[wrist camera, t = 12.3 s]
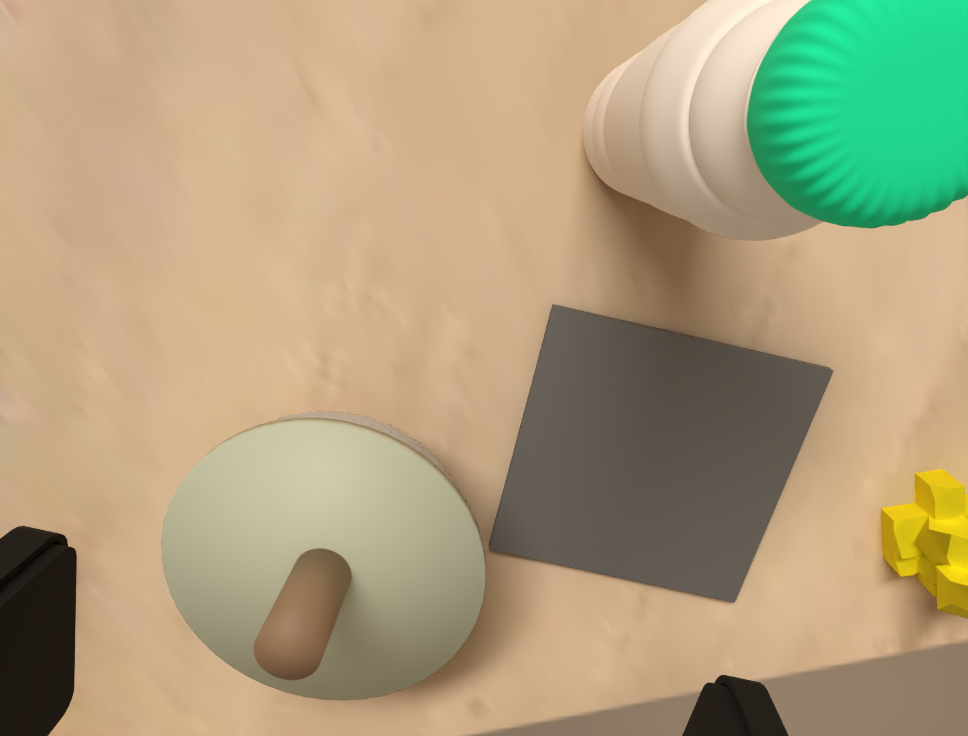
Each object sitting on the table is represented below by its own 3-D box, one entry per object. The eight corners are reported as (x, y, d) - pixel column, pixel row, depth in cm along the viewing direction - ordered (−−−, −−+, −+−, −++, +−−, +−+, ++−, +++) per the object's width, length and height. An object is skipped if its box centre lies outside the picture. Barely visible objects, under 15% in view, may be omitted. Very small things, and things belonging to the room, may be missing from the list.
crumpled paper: (976, 462, 41) (1078, 531, 33) (975, 568, 43) (1069, 655, 36) (879, 478, 41) (957, 550, 34) (882, 582, 44) (956, 670, 37)
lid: (517, 456, 34) (518, 528, 28) (453, 714, 40) (441, 823, 34) (176, 386, 34) (96, 443, 27) (161, 657, 40) (93, 757, 33)
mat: (828, 367, 39) (833, 370, 39) (731, 596, 45) (734, 602, 44) (552, 304, 39) (553, 306, 38) (489, 544, 44) (488, 549, 43)
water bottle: (717, 184, 36) (1108, 262, 12) (589, 206, 37) (727, 319, 13) (709, 45, 34) (1167, -187, 10) (573, 71, 34) (705, -90, 11)
